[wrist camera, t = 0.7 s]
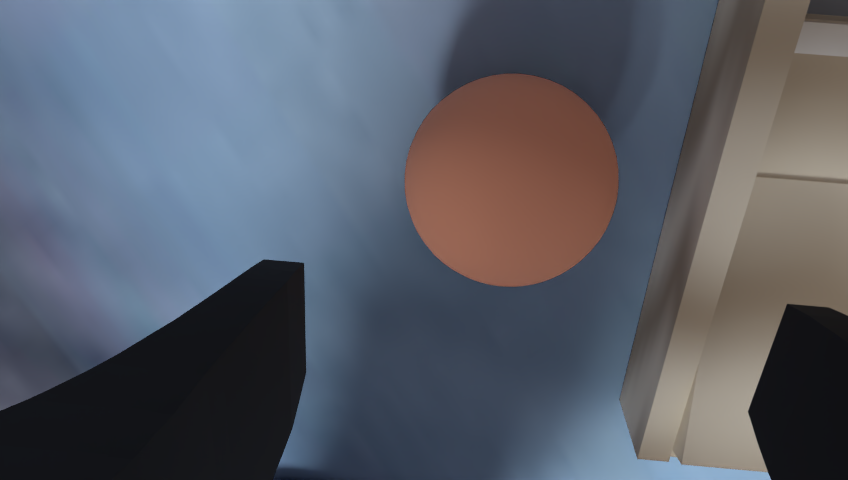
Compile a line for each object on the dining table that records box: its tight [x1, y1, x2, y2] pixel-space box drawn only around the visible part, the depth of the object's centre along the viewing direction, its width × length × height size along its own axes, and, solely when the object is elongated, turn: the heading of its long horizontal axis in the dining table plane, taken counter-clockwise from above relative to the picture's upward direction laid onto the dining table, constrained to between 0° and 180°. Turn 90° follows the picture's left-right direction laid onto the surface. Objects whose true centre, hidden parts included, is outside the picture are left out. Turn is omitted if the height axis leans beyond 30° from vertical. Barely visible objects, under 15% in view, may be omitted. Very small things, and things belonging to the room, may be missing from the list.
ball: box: [405, 74, 619, 287], centre depth 16 cm, size 5×5×5 cm
